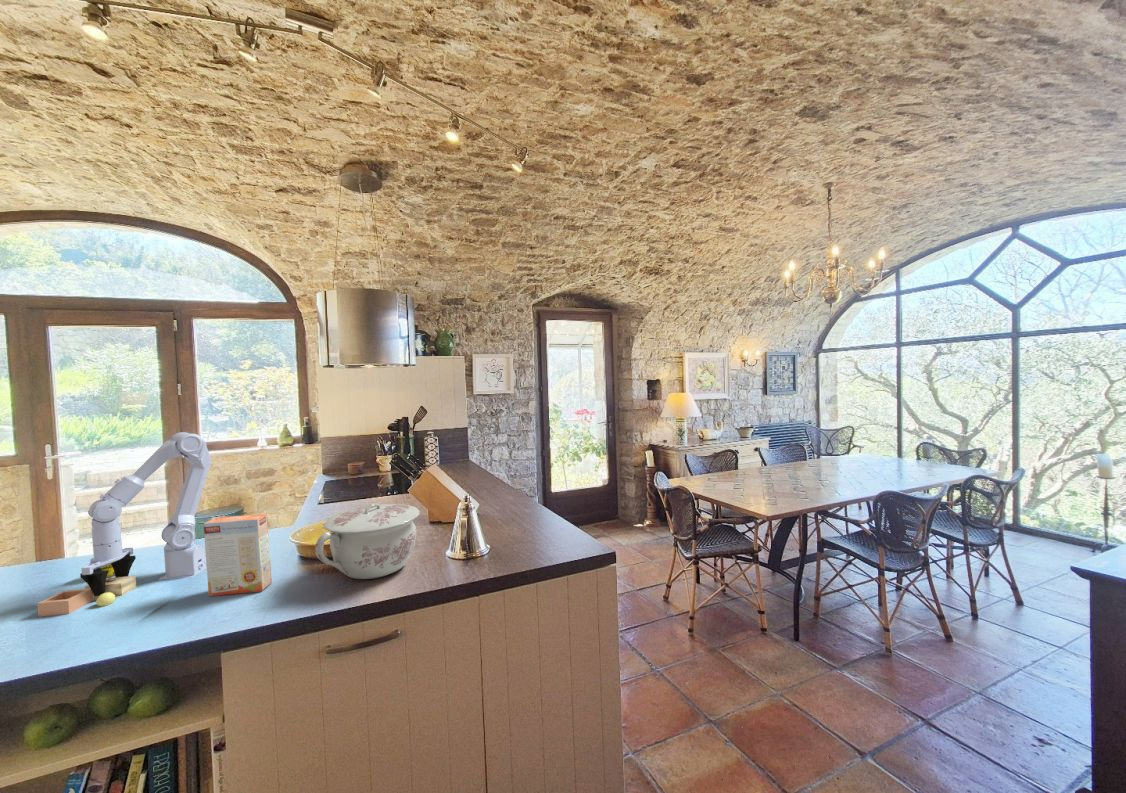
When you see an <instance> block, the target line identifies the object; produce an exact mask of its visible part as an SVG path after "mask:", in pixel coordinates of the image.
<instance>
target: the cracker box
mask: <svg viewBox="0 0 1126 793" xmlns="http://www.w3.org/2000/svg"><path fill="white" fill-rule="evenodd" d="M268 523H269V522H268V514H267V513H260V514H259V513H258V514H248V515H247V514H246V515H233V516H219V517H214V518H212V519H210V520H208V521H206V522H204V523H203V532H204V533H203V535H204V537H203V538H204V548H205V553H206V566H207V568H206V578H207V589H208V597H214V596H225V595H236V594H245V593H248V594H249V593H259V592H263V591H264V590H265V589H267V587H269V586H270V585H271V584H272V583H273V582H272V567H271V565H272V564H271V554H270V553H271V552H270V538H269V525H268Z"/></svg>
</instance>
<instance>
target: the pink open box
mask: <svg viewBox="0 0 1126 793" xmlns="http://www.w3.org/2000/svg"><path fill="white" fill-rule="evenodd" d="M91 602H94V600H93V592H92V590H91V589H85V588H83V589H82V588H81V589H71V590H70V589H69V590H62V591H60V592H58V593H55V594H54V595H51V596H50V597H48V598H46V599H44V600H42V601H39V602H37V604H36V605H37V614H38V615H37V617H47V616H50V617H51V616H59V615H69V614H71V613H73V612H76V611H77V610H78V609H81V608H83V607H85V606H87V605H88V604H90V603H91Z"/></svg>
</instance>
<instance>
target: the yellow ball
mask: <svg viewBox="0 0 1126 793" xmlns="http://www.w3.org/2000/svg"><path fill="white" fill-rule="evenodd" d="M115 600H116V598H115V595H114V594H113V593H111V592H106V593H103V594H101V595H100V596H99V597H98V598H97V600H95V601H96V605H97V606H98V607H105V606H109V605H111V604H113V603H115Z"/></svg>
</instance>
